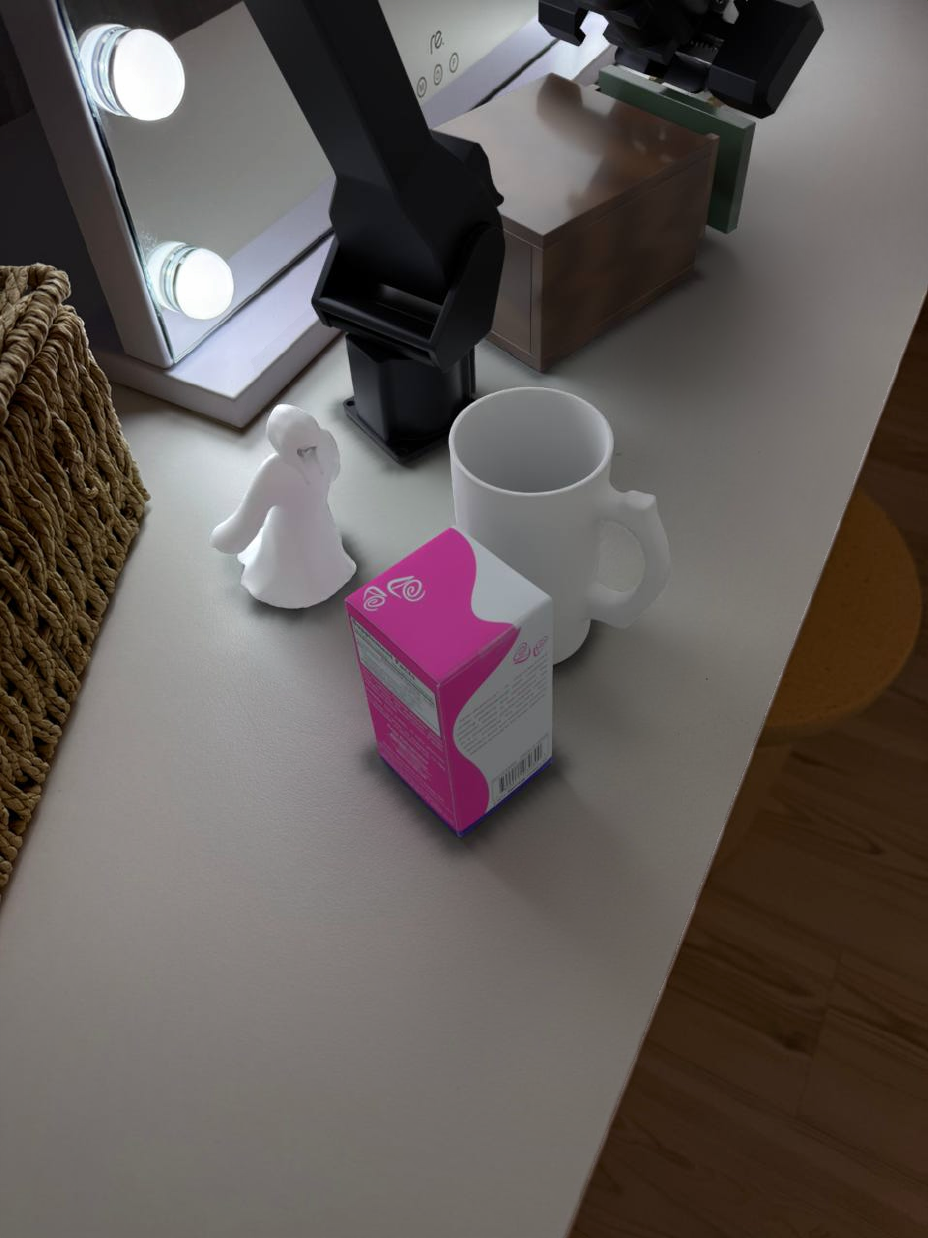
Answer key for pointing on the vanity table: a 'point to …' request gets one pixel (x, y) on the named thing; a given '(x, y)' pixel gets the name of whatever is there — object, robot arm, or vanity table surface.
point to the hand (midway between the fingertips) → (715, 84)
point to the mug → (552, 504)
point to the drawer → (703, 119)
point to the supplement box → (457, 675)
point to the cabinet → (584, 211)
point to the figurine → (290, 517)
